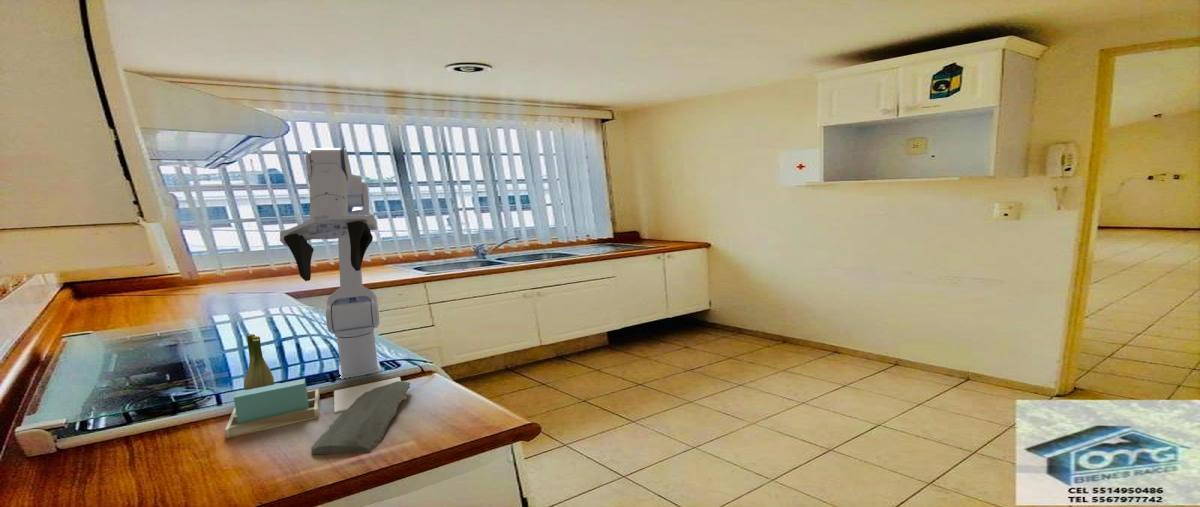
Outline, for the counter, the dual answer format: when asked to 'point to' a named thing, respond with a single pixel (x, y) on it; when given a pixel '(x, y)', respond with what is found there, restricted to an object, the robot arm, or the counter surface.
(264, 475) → the counter surface
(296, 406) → the board
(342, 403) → the tile
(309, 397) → the rack
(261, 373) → the fennel bulb
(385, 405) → the stone slab
